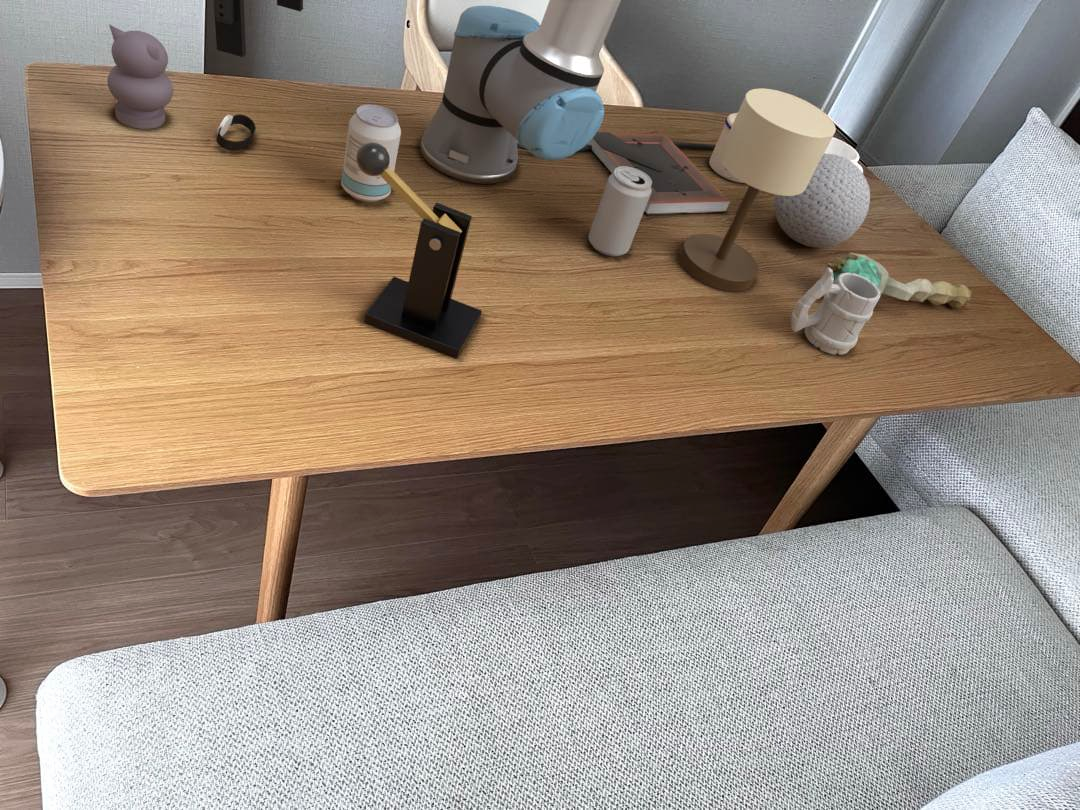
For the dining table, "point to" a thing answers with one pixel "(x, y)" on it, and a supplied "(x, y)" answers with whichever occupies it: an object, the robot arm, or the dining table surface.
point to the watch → (227, 123)
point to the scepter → (890, 287)
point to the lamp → (759, 176)
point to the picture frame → (661, 172)
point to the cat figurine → (139, 79)
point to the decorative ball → (826, 204)
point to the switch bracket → (430, 290)
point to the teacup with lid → (715, 157)
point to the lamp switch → (396, 181)
